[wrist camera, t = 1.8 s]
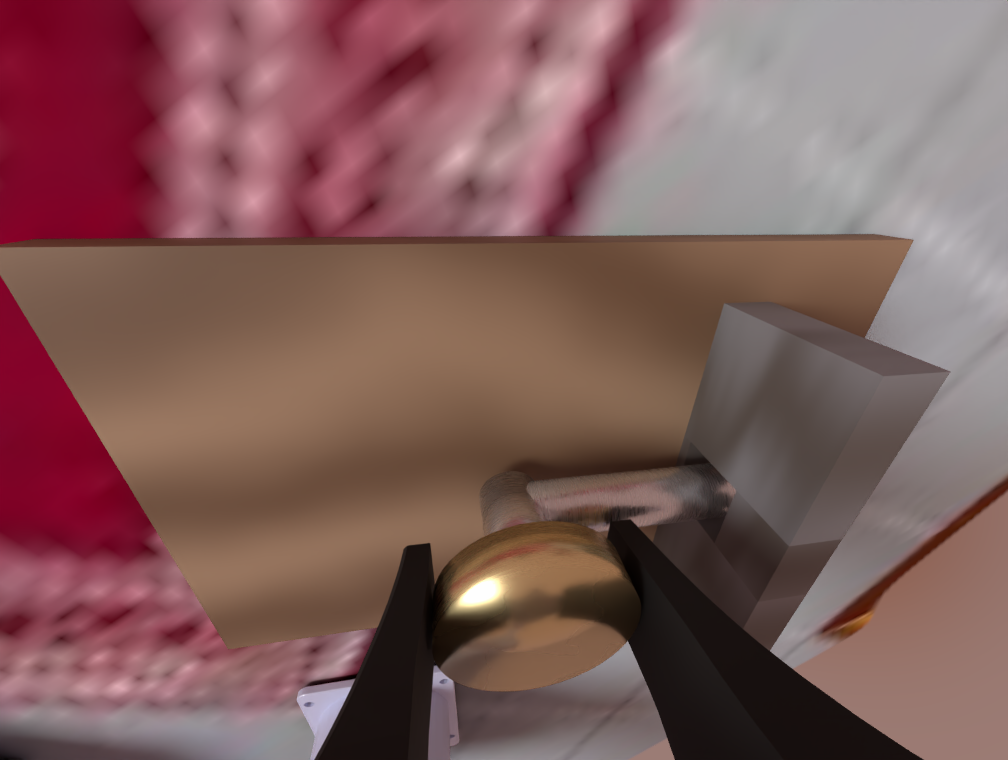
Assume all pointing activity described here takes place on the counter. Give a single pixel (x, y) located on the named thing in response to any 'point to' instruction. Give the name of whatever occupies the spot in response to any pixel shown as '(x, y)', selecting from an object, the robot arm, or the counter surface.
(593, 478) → the brass knob with shaft
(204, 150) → the counter surface
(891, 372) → the wooden board
